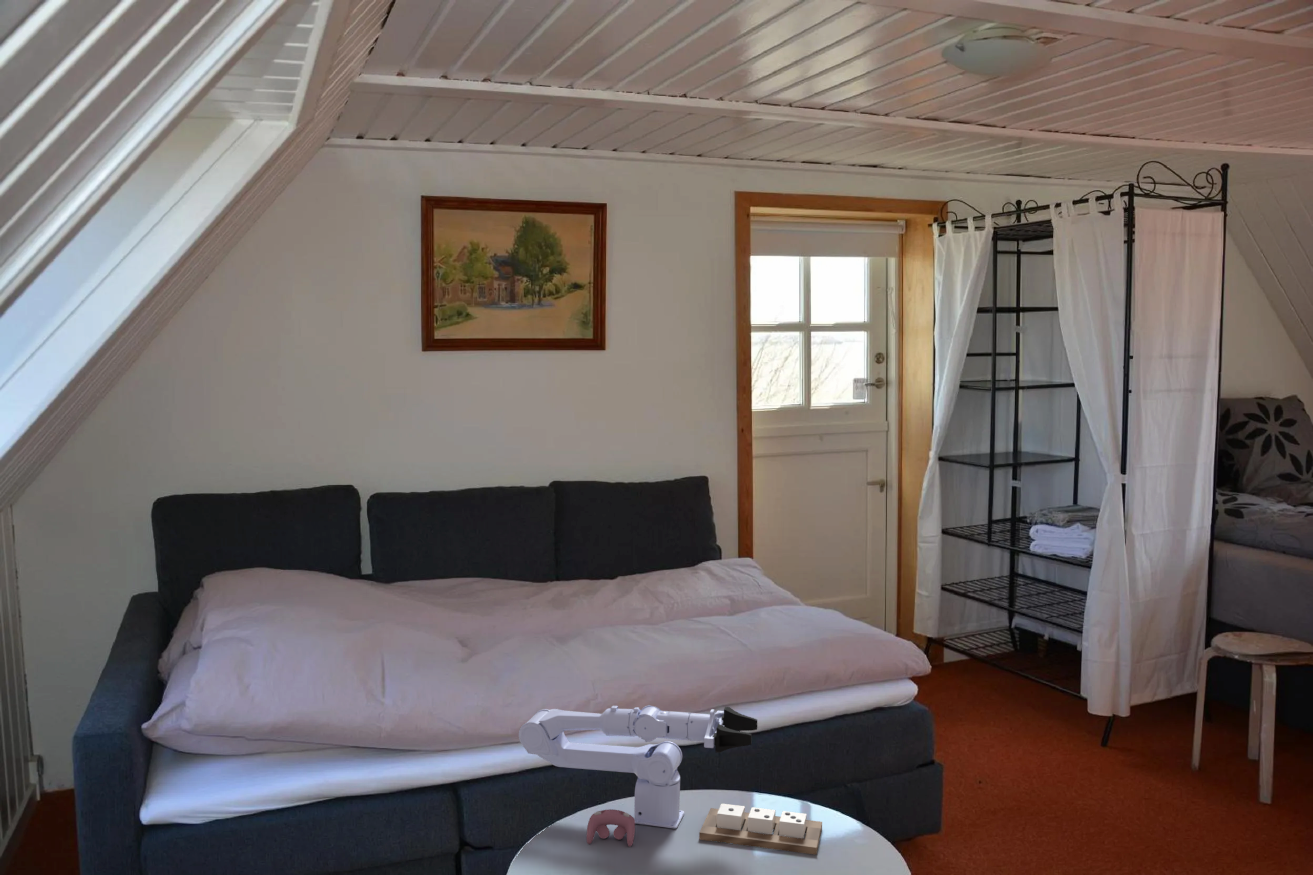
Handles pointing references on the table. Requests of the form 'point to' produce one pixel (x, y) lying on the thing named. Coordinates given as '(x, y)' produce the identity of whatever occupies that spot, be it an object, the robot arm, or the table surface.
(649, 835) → the table surface
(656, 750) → the robot arm
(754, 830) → the two dot tile
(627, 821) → the video game controller
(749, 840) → the tile board
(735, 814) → the one dot tile
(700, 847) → the table surface
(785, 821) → the three dot tile
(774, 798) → the table surface
